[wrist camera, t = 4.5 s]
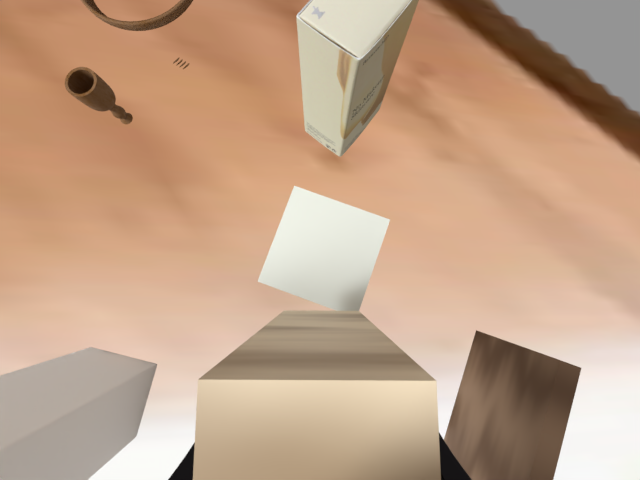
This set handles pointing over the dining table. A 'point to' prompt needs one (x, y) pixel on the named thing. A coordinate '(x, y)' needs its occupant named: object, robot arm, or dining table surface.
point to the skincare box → (348, 63)
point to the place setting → (92, 86)
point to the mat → (324, 251)
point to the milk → (70, 414)
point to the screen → (510, 411)
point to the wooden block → (317, 406)
